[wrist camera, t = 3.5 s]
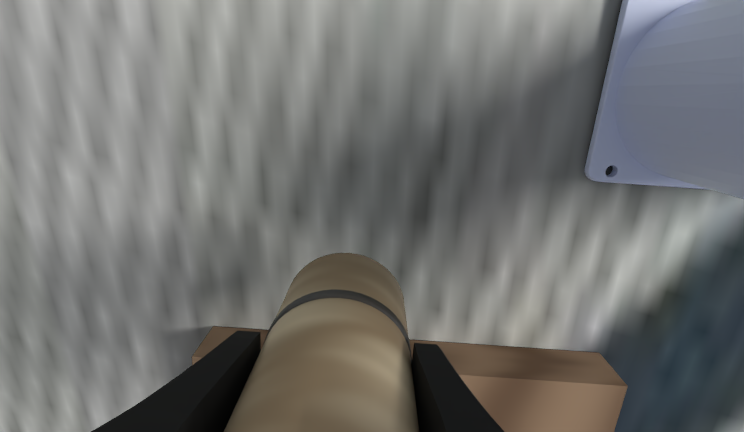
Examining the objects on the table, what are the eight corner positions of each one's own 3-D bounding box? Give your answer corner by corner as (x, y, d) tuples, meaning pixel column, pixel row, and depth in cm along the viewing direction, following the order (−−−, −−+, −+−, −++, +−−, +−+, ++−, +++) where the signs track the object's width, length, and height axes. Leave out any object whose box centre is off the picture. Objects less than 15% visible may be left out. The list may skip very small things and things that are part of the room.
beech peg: (410, 256, 13) (454, 483, 6) (399, 361, 14) (423, 669, 7) (286, 247, 13) (158, 464, 6) (285, 354, 14) (179, 652, 7)
